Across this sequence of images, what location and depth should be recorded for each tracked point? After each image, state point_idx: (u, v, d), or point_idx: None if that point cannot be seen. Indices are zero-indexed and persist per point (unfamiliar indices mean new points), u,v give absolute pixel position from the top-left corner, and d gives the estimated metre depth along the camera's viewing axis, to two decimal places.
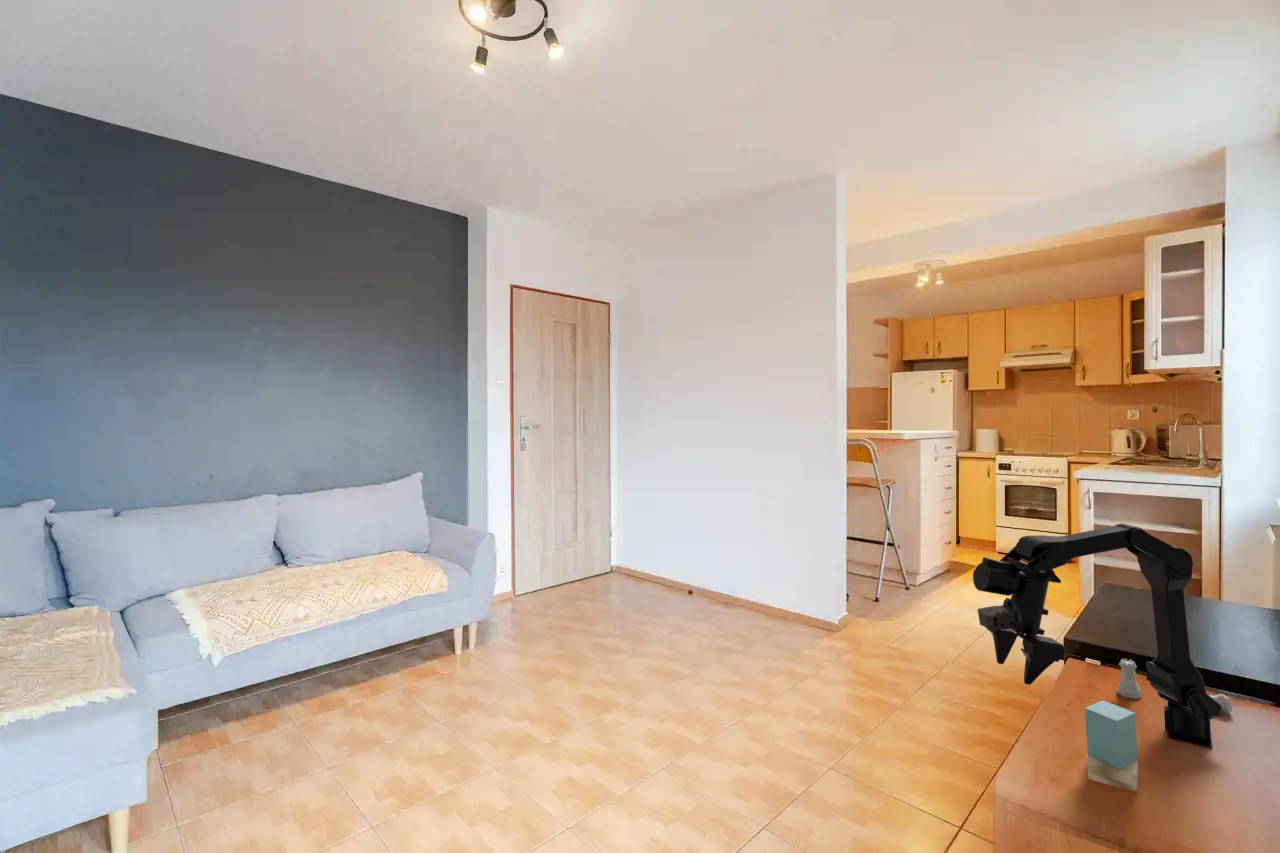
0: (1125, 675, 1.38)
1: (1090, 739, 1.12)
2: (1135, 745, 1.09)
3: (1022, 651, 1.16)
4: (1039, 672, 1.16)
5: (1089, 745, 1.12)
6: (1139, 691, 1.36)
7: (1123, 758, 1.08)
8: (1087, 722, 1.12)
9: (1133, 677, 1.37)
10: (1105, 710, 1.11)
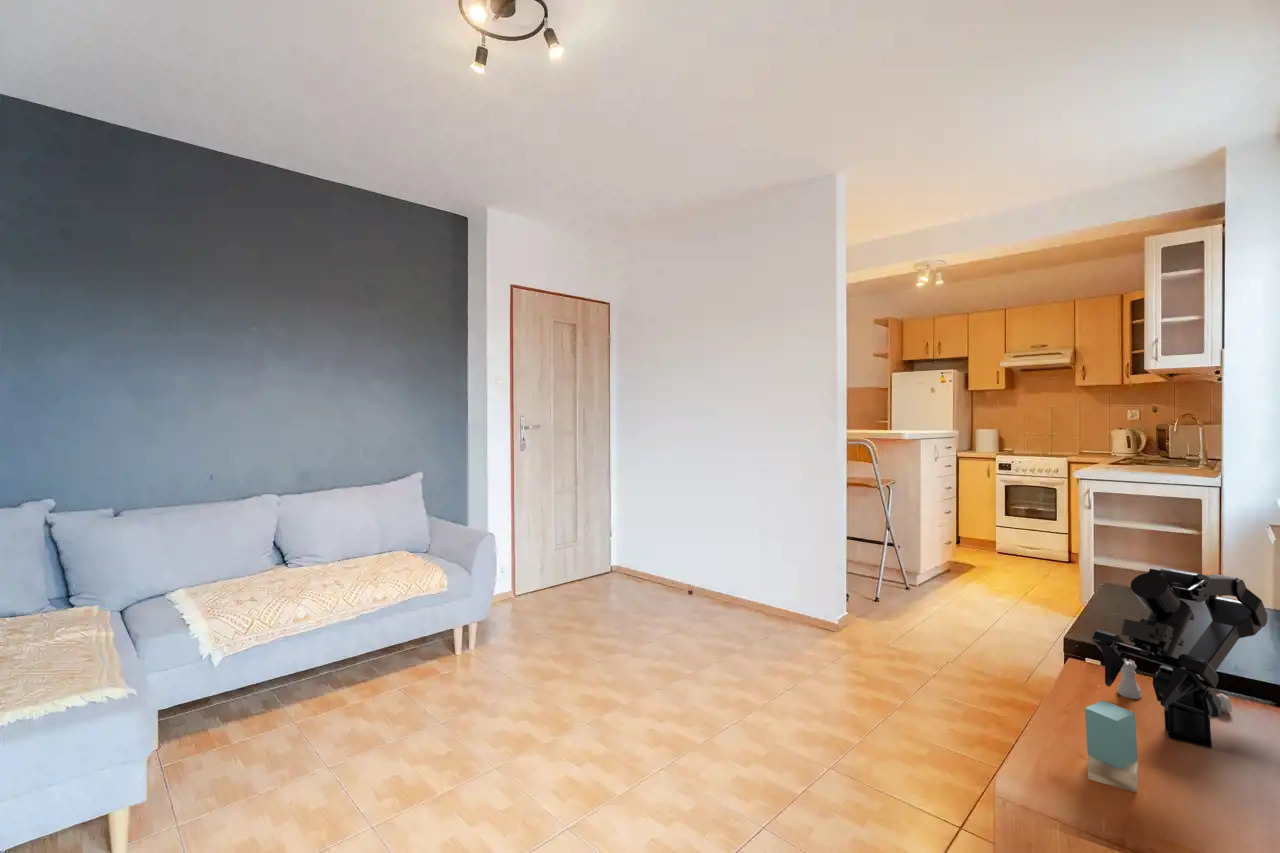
0: (1125, 675, 1.38)
1: (1090, 739, 1.12)
2: (1135, 745, 1.09)
3: (1174, 669, 1.09)
4: (1178, 696, 1.09)
5: (1089, 745, 1.12)
6: (1139, 691, 1.36)
7: (1123, 758, 1.08)
8: (1087, 722, 1.12)
9: (1133, 677, 1.37)
10: (1105, 710, 1.11)
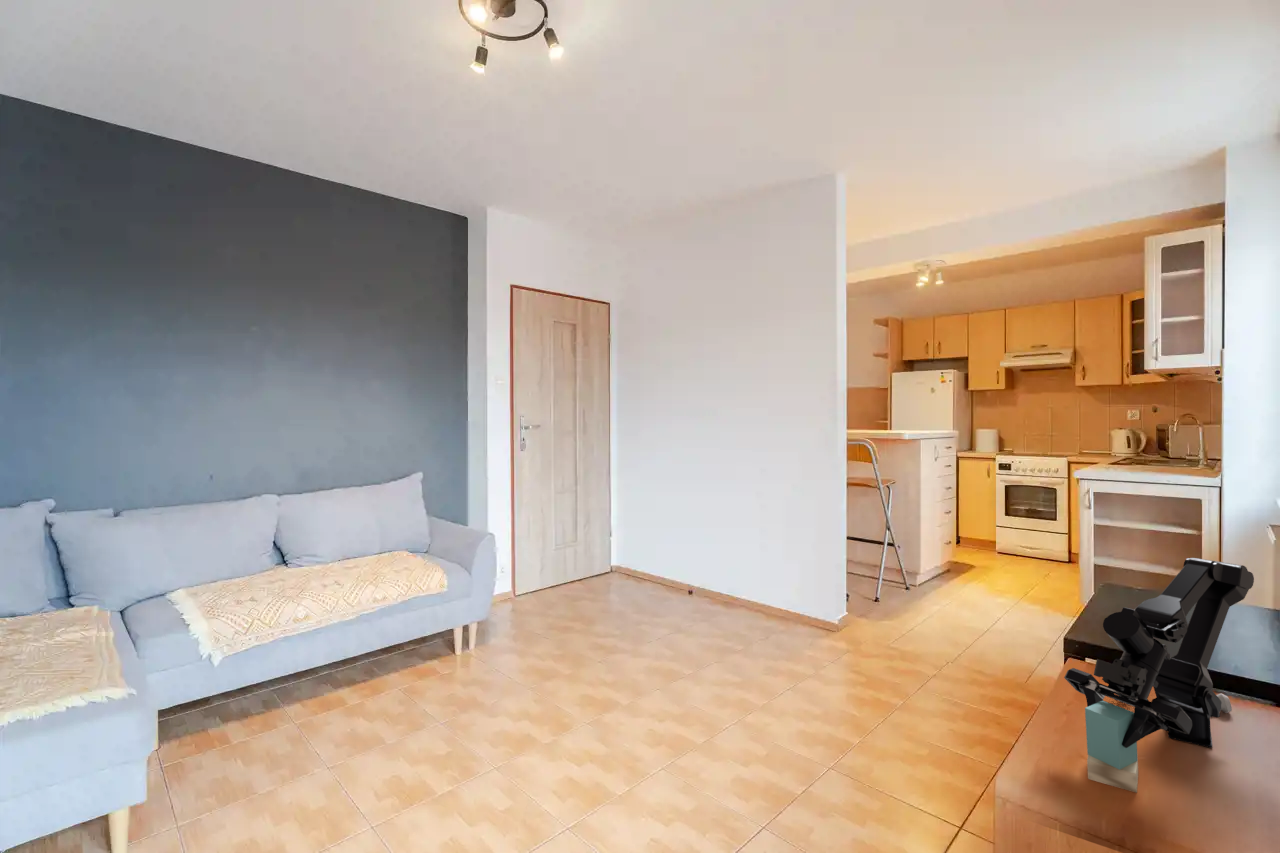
0: None
1: (1090, 739, 1.12)
2: (1135, 745, 1.09)
3: (1136, 709, 1.08)
4: (1140, 737, 1.08)
5: (1089, 745, 1.12)
6: None
7: (1123, 758, 1.08)
8: (1087, 722, 1.12)
9: None
10: (1105, 710, 1.11)
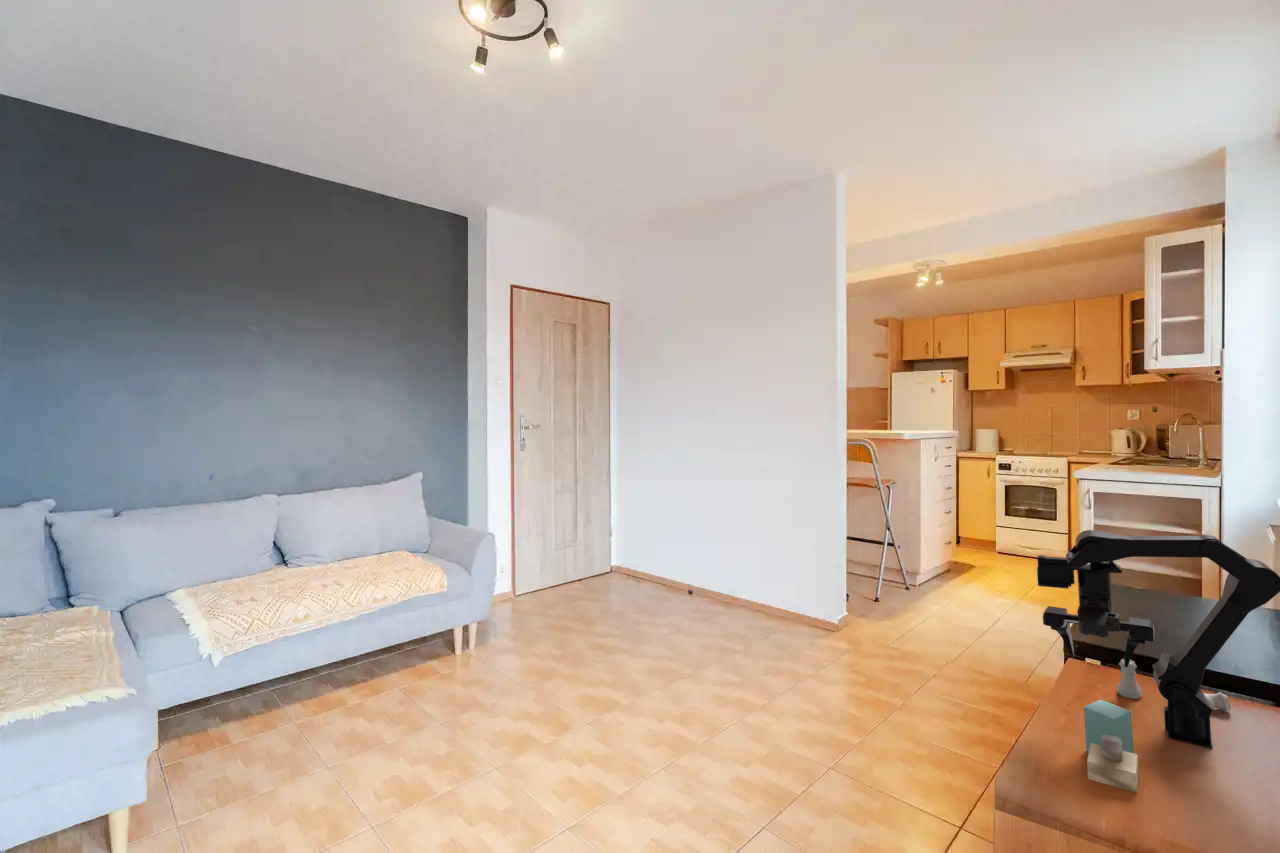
0: (1125, 675, 1.38)
1: (1088, 736, 1.19)
2: (1131, 742, 1.16)
3: (1128, 641, 1.23)
4: None
5: (1088, 741, 1.19)
6: (1139, 691, 1.36)
7: None
8: (1086, 720, 1.19)
9: (1133, 677, 1.37)
10: (1103, 708, 1.18)
